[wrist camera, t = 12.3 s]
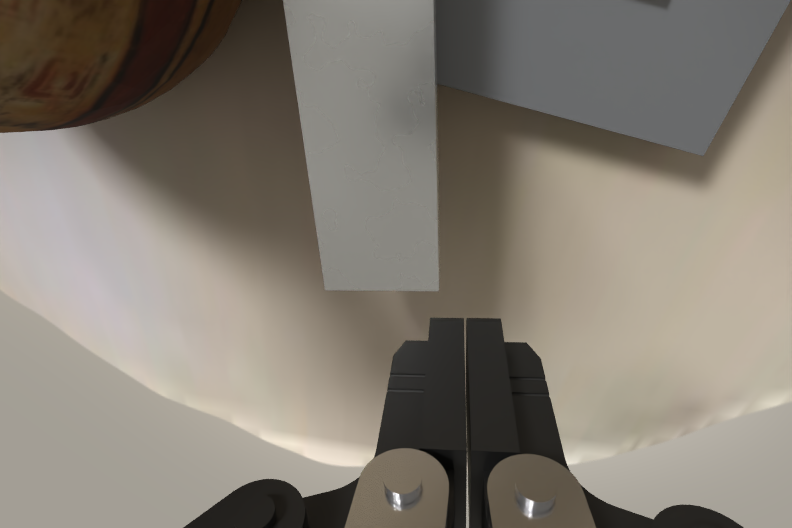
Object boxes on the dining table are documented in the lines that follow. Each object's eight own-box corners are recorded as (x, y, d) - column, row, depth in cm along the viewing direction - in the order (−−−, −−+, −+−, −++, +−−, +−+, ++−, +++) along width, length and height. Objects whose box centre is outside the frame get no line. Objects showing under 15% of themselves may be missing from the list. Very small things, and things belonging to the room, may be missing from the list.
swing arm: (289, -199, 19) (244, -254, 15) (434, -217, 18) (427, -280, 14) (343, 252, 27) (324, 291, 24) (441, 251, 27) (439, 292, 23)
